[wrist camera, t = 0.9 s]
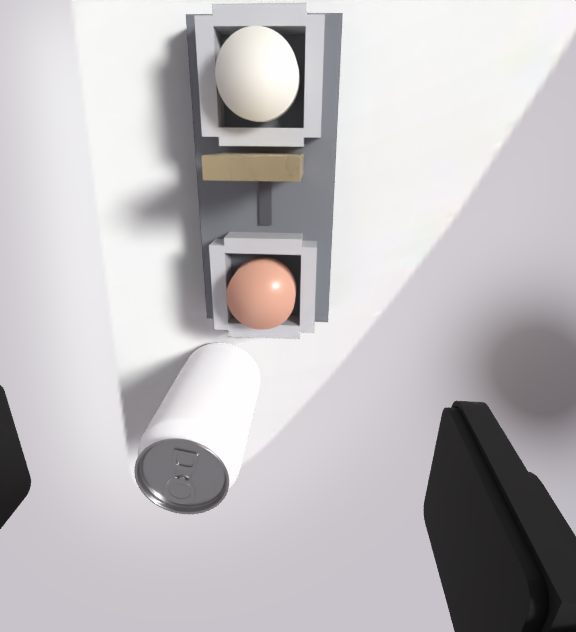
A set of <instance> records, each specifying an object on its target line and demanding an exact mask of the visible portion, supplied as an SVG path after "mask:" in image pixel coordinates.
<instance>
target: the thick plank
mask: <svg viewBox="0 0 576 632" xmlns="http://www.w3.org/2000/svg"><path fill="white" fill-rule="evenodd" d="M201 157H202V172H203V180H216V181H288V182H300V181H301V178H302V176H303V174H304V153H245V152H224V153H216V154H209V155H201Z"/></svg>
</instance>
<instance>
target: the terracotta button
mask: <svg viewBox="0 0 576 632" xmlns="http://www.w3.org/2000/svg"><path fill="white" fill-rule="evenodd" d="M295 297H296V282H295V278H294V276H293V274H292V272H291V271H290V269H289V268H288V267H287V266H286V265H285V264H283V263H282V262H280V261H278V260H277V259H274V258H270V257H255V258H252V259H250V260H247V261H246V262H244V263H243V264H242V265H241V266H240V267H239V268H238V269H237V271H236V272H235V274H234V276H233V277H232V279H231V280H230V282H229V284H228V288H227V293H226V298H227V304H228V307H229V309H230V311H231V313H232V314H233V316H234V317H235V318H236V319H237V320H238V321H239V322H241V323H242V324H244V325H245V326H248V327H250V328H253V329H260V330H265V329H271V328H274V327H277V326H279V325H280V324H282V323H283V322H284V321H286V320H287V318H288V317H289V316H290V314H291V312H292V310H293V308H294V303H295Z"/></svg>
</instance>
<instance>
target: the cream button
mask: <svg viewBox="0 0 576 632" xmlns="http://www.w3.org/2000/svg"><path fill="white" fill-rule="evenodd" d="M215 78H216V84H217V88H218V91H219V94H220V96H221V98H222V100H223V101H224V103H225V104H226V105H227V106H228V108H229V109H230V110H231V111H232V112H234V113H235V114H237V115H238V116H240V117H242V118H244V119H247V120H251V121H255V122H269V121H273V120H276V119H278V118H279V117H281V116H282V115H284V114H285V113H286V112H287V111H288V110H289V109H290V107H291V106H292V105H293V103H294V101H295V99H296V97H297V94H298V90H299V83H300V76H299V68H298V65H297V61H296V58H295V55H294V52H293V50H292V48H291V47H290V45H289V44H288V42H287V41H286V40H285V39H284V38H283V37H282V36H281V35H280V34H279V33H277V32H276V31H274V30H272V29H270V28H267V27H263V26H248V27H244V28H242V29H240V30H238V31H236V32H234V33H233V34H232V35H231V36H230V37H229V38H228V39H227V40H226V41H225V43H224V44H223V45H222V47H221V49H220V51H219V54H218V57H217V61H216V67H215Z"/></svg>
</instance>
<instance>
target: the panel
mask: <svg viewBox="0 0 576 632" xmlns="http://www.w3.org/2000/svg"><path fill="white" fill-rule="evenodd" d="M212 12H213V14H189V15H186V24H187V39H188V53H189V67H190V81H191V96H192V110H193V124H194V138H195V153H196V167H197V181H198V195H199V210H200V224H201V238H202V252H203V267H204V281H205V295H206V309H207V318H214V330H228V332H229V337H258V338H286V339H300V332H301V333H314V322H328V310H329V289H330V268H331V247H332V225H333V204H334V183H335V162H336V141H337V120H338V99H339V77H340V56H341V35H342V14H343V13H307V6H306V3H260V4H212ZM248 26H263V27H267V28H270V29H272V30H274V31H276V32H277V33H279V34H280V35H281V36H282V37H283V38H284V39H285V40H286V41H287V42H288V44H289V45H290V47H291V48H292V50H293V52H294V55H295V58H296V61H297V65H298V68H299V76H300V83H299V90H298V94H297V97H296V99H295V101H294V103H293V105H292V106H291V107H290V109H289V110H288V111H287V112H286V113H285V114H284V115H282V116H281V117H279V118H278V119H276V120H273V121H269V122H255V121H251V120H247V119H244V118H242V117H240V116H238V115H237V114H235V113H234V112H232V111H231V110H230V109H229V108H228V106H227V105H226V104H225V103H224V101H223V100H222V98H221V96H220V94H219V91H218V88H217V84H216V78H215V67H216V61H217V57H218V54H219V51H220V49H221V47H222V45H223V44H224V43H225V41H226V40H227V39H228V38H229V37H230V36H231V35H232V34H233V33H234V32H236V31H238V30H240V29H242V28H244V27H248ZM224 152H245V153H304V174H303V176H302V178H301V181H300V182H288V181H216V180H203V172H202V157H201V155H209V154H216V153H224ZM255 257H270V258H274V259H277V260H278V261H280V262H282V263H283V264H285V265H286V266H287V267H288V268H289V269H290V271H291V272H292V274H293V276H294V278H295V282H296V297H295V303H294V308H293V310H292V312H291V314H290V316H289V317H288V318H287V320H286V321H284V322H283V323H282V324H280V325H279V326H277V327H274V328H271V329H265V330H260V329H253V328H250V327H248V326H245V325H244V324H242V323H241V322H239V321H238V320H237V319H236V318H235V317H234V316H233V314H232V313H231V311H230V309H229V307H228V304H227V298H226V293H227V288H228V284H229V282H230V280H231V279H232V277H233V276H234V274H235V272H236V271H237V269H238V268H239V267H240V266H241V265H242V264H243V263H244V262H246V261H247V260H250V259H252V258H255Z"/></svg>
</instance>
